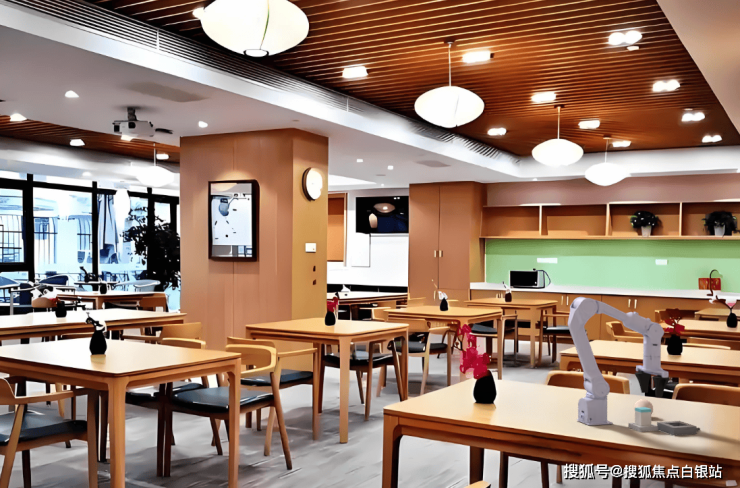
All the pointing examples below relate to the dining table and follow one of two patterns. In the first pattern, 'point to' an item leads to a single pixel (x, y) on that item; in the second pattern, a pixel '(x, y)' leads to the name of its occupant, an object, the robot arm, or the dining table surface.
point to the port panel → (677, 428)
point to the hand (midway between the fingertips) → (651, 394)
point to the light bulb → (644, 404)
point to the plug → (642, 416)
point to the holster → (643, 427)
